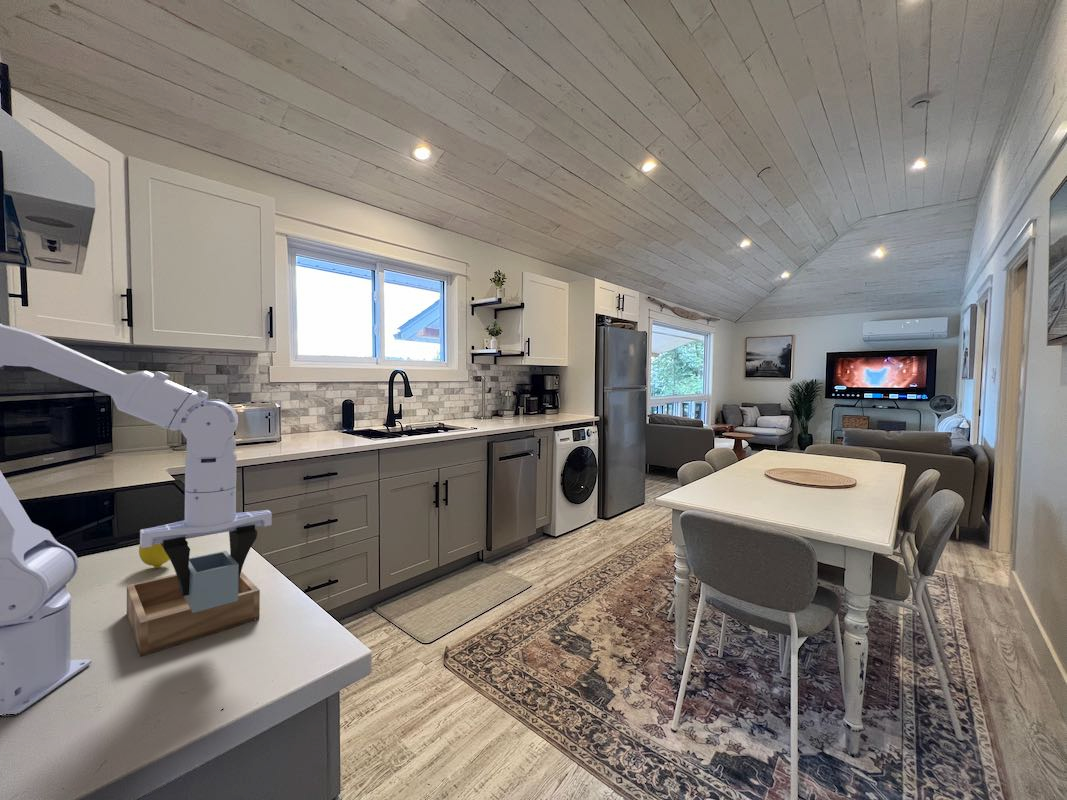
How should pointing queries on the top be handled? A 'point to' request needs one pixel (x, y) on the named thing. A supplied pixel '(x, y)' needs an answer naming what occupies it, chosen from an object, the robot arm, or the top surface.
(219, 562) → the small crate
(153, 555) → the lemon
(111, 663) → the top surface
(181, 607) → the big crate
